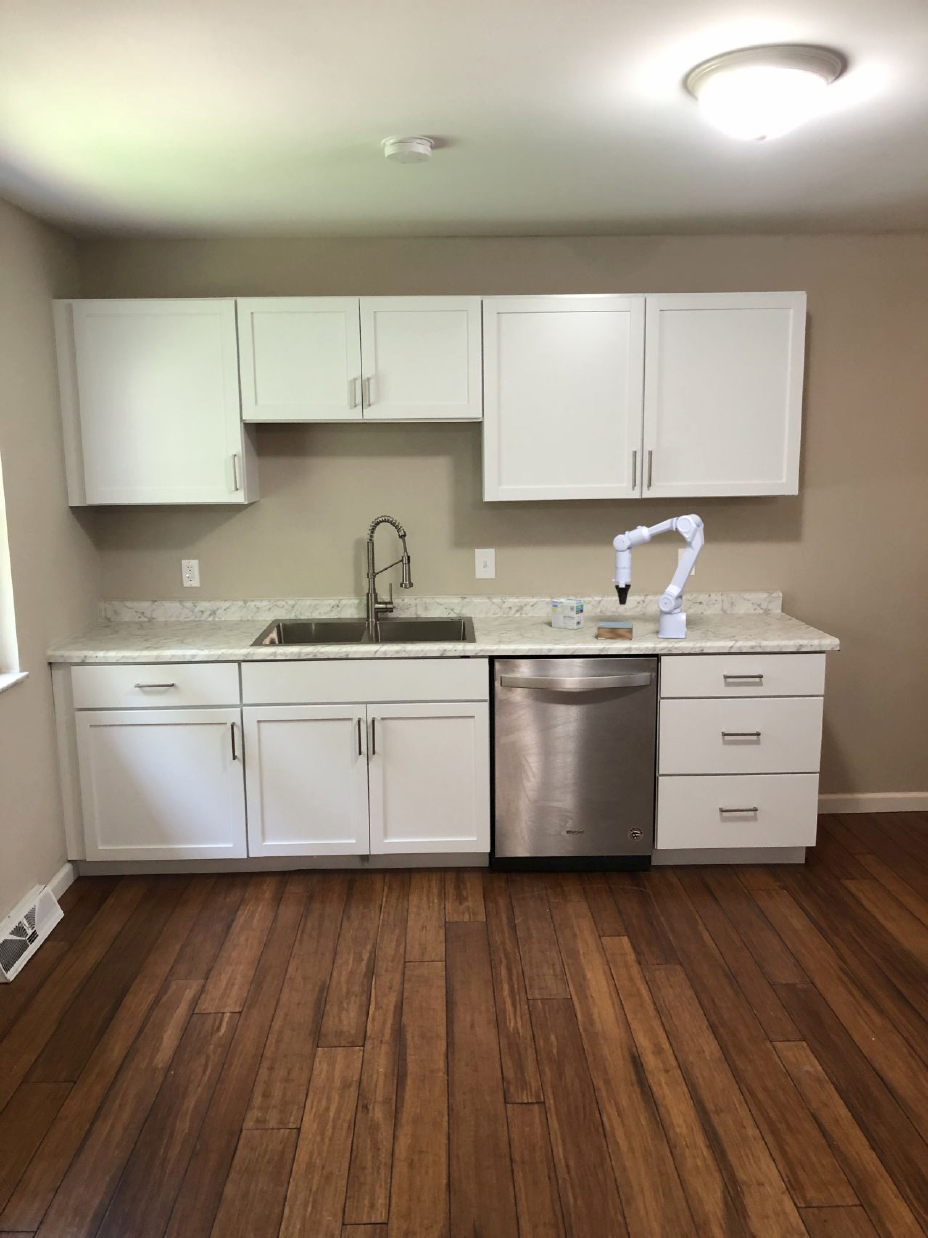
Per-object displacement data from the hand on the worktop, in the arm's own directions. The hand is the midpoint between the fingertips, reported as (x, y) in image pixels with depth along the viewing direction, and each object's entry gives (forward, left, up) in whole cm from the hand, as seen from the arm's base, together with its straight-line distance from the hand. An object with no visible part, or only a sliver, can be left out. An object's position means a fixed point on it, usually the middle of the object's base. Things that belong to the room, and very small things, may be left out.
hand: (622, 604), depth 343 cm
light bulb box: (+21, -8, -11) cm, 25 cm away
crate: (+2, +11, -10) cm, 15 cm away
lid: (+2, +11, -6) cm, 13 cm away
